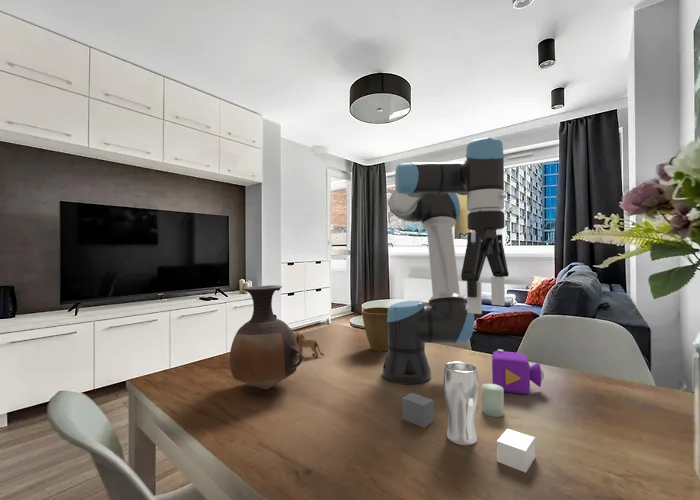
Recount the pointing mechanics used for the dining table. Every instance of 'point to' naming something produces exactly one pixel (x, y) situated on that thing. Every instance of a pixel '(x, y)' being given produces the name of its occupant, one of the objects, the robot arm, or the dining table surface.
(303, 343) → the lion figurine
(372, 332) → the plant pot
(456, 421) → the beer glass
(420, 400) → the charcoal block
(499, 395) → the sage cylinder
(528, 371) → the toy camera
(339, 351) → the dining table surface
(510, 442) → the off-white brick
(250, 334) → the vase
